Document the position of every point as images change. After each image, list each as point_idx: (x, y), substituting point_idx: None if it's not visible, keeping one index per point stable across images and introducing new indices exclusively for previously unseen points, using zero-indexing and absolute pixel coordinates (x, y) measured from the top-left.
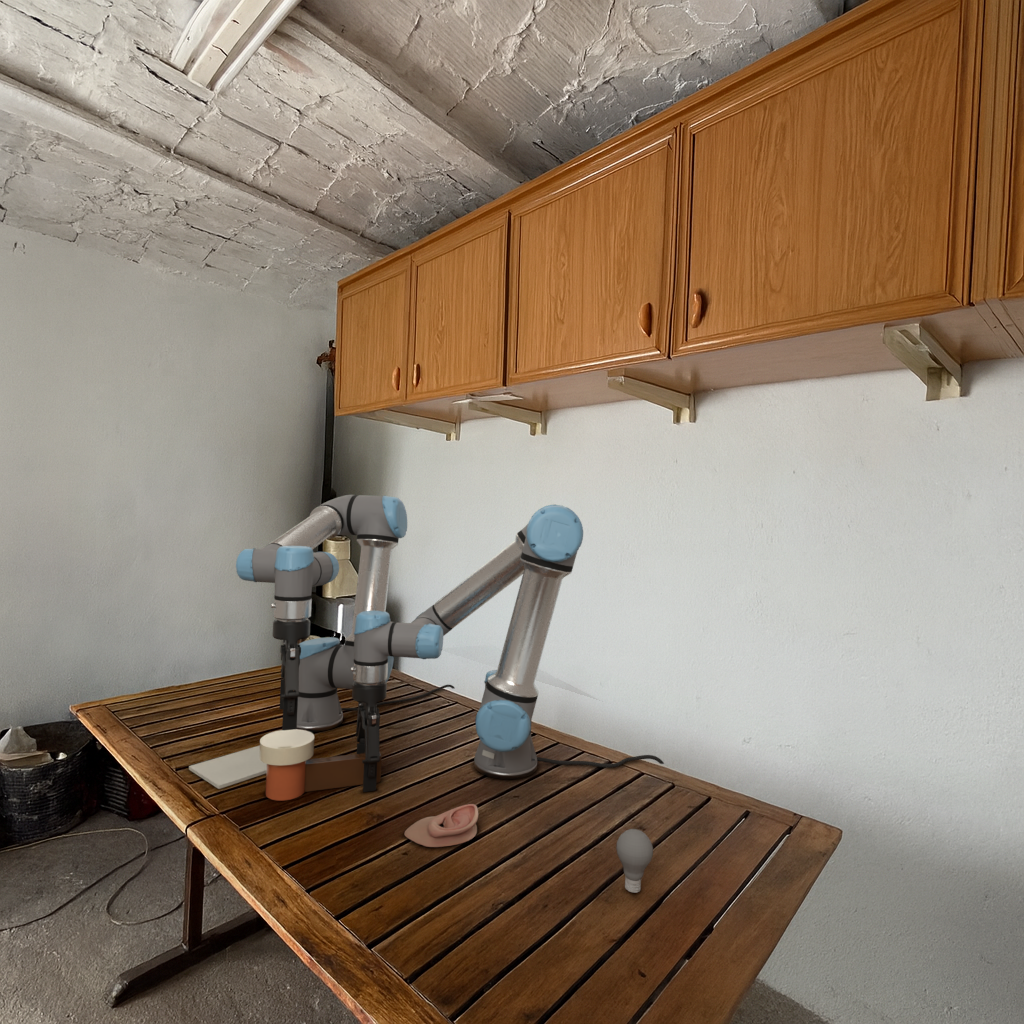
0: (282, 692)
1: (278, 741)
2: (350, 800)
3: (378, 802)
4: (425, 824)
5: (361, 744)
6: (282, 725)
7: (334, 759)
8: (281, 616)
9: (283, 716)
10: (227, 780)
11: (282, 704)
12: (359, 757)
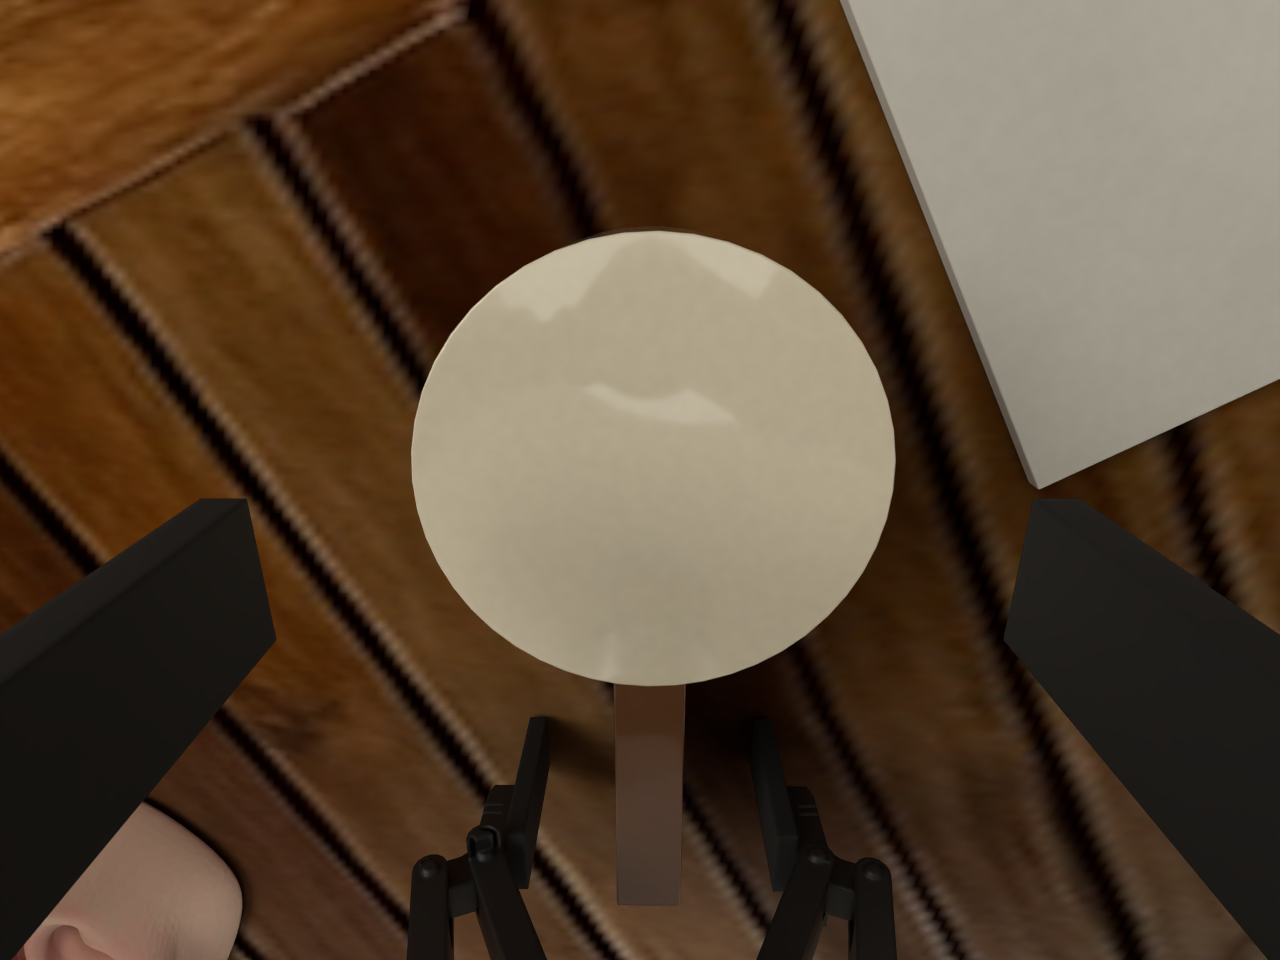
0: (1188, 653)
1: (600, 406)
2: (472, 655)
3: (426, 753)
4: (76, 888)
5: (776, 854)
6: (201, 519)
7: (636, 693)
8: None
9: (79, 589)
10: (889, 9)
11: (1059, 557)
12: (627, 812)
